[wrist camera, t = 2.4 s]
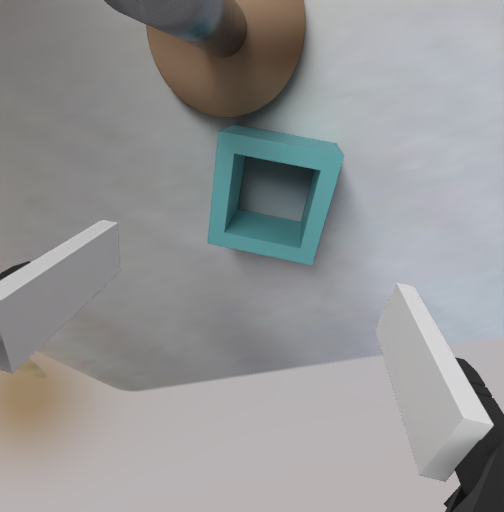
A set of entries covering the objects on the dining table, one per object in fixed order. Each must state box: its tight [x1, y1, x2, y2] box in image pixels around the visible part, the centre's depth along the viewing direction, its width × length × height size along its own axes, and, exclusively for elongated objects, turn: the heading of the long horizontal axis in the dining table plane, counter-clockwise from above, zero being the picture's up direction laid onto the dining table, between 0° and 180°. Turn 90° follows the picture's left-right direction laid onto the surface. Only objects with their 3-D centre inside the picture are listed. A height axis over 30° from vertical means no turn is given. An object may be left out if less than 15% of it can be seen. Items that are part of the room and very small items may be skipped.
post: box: [104, 0, 247, 58], centre depth 17 cm, size 4×4×14 cm
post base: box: [146, 0, 305, 117], centre depth 24 cm, size 12×12×2 cm
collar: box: [208, 124, 344, 265], centre depth 27 cm, size 9×9×6 cm
